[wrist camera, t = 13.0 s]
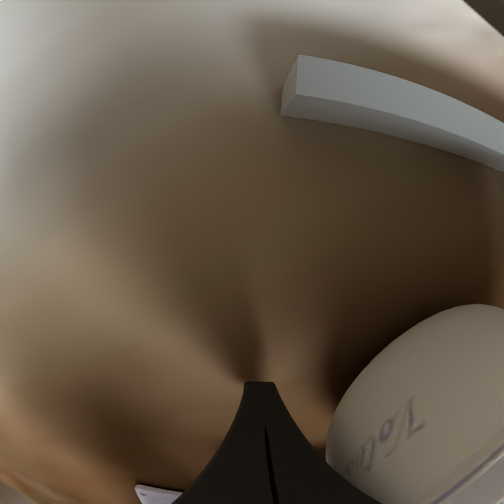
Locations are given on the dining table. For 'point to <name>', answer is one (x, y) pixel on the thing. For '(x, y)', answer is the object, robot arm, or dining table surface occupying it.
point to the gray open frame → (390, 108)
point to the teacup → (428, 414)
